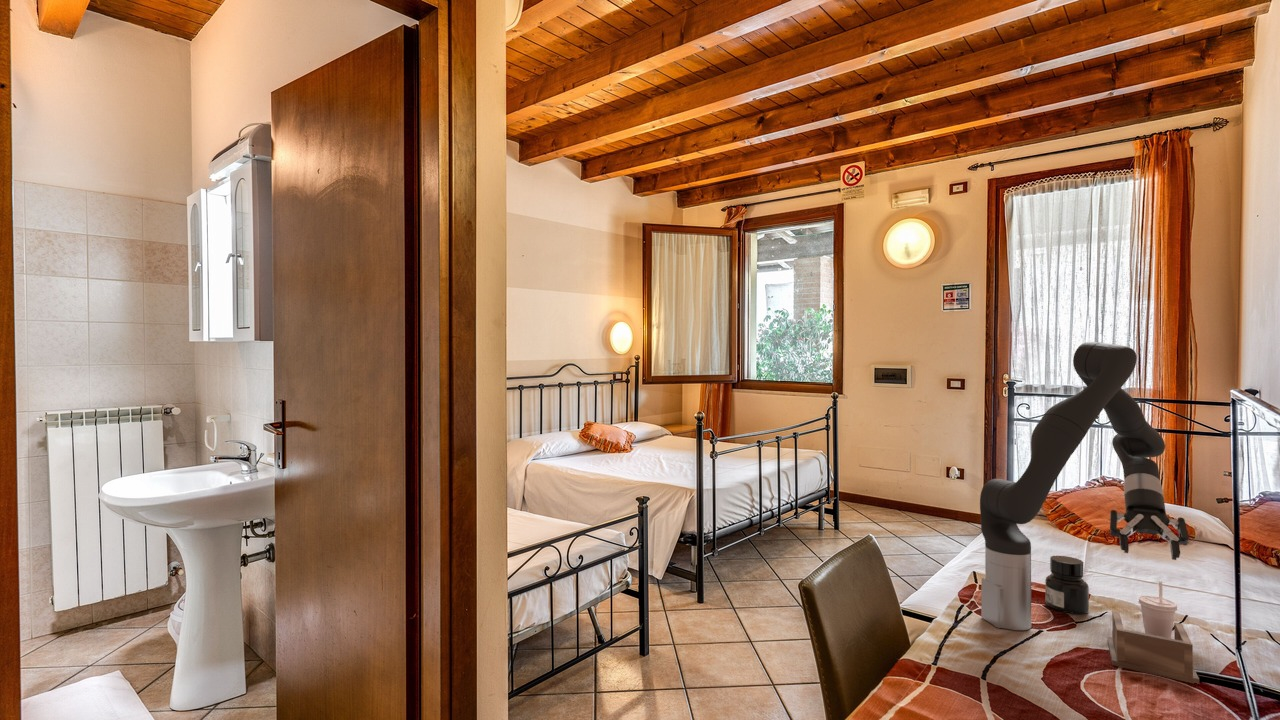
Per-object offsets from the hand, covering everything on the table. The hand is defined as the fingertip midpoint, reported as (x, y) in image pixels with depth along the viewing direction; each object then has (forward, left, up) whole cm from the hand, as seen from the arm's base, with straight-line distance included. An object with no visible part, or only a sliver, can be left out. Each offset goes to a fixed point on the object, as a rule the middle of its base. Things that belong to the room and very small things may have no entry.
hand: (1150, 554), depth 139 cm
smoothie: (-8, -9, -17) cm, 21 cm away
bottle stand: (-16, -15, -17) cm, 27 cm away
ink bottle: (-11, +12, -17) cm, 23 cm away
